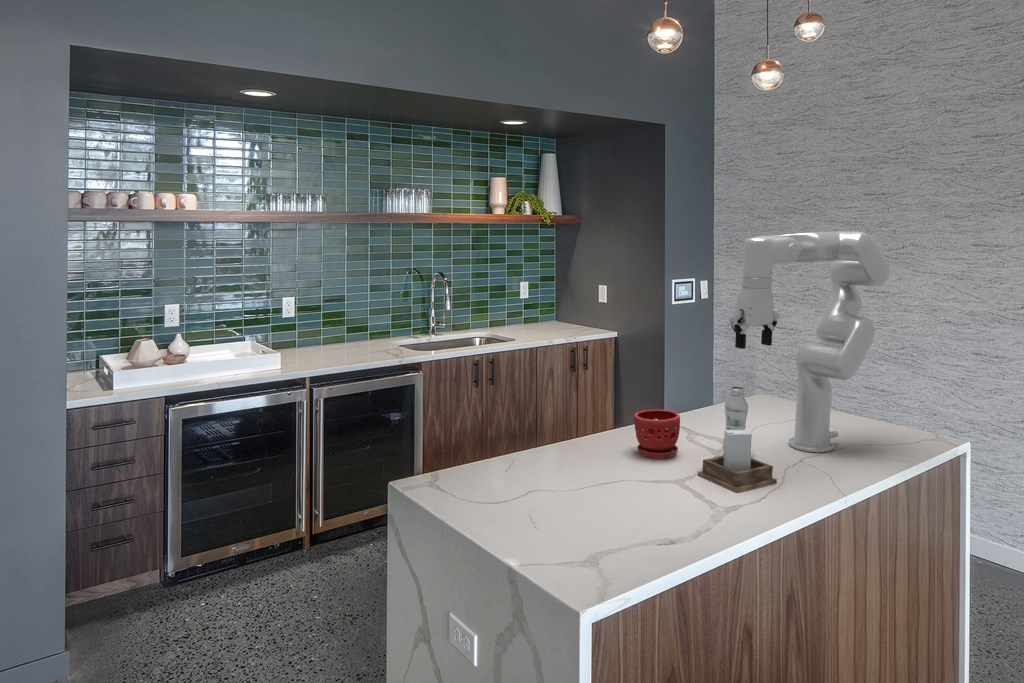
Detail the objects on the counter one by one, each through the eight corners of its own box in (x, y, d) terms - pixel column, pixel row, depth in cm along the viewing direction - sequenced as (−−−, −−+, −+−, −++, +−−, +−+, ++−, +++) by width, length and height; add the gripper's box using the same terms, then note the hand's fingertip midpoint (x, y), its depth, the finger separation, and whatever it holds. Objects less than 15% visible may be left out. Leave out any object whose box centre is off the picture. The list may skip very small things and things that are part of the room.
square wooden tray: (736, 467, 198) (737, 451, 197) (776, 483, 185) (777, 466, 185) (697, 475, 191) (698, 459, 190) (736, 492, 179) (737, 475, 178)
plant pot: (675, 447, 215) (677, 408, 213) (681, 461, 203) (683, 420, 201) (632, 445, 217) (633, 407, 215) (635, 460, 204) (636, 419, 202)
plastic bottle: (747, 459, 204) (751, 391, 201) (723, 457, 205) (726, 390, 202) (745, 452, 210) (748, 385, 207) (721, 450, 212) (724, 384, 208)
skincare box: (745, 472, 190) (747, 428, 188) (750, 478, 186) (753, 433, 184) (721, 472, 190) (723, 428, 188) (727, 478, 186) (729, 433, 184)
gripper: (769, 281, 200) (765, 341, 202) (722, 284, 192) (719, 347, 195) (790, 283, 193) (786, 345, 196) (743, 286, 185) (740, 351, 188)
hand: (753, 346), depth 195 cm, fingers open, 9 cm apart
